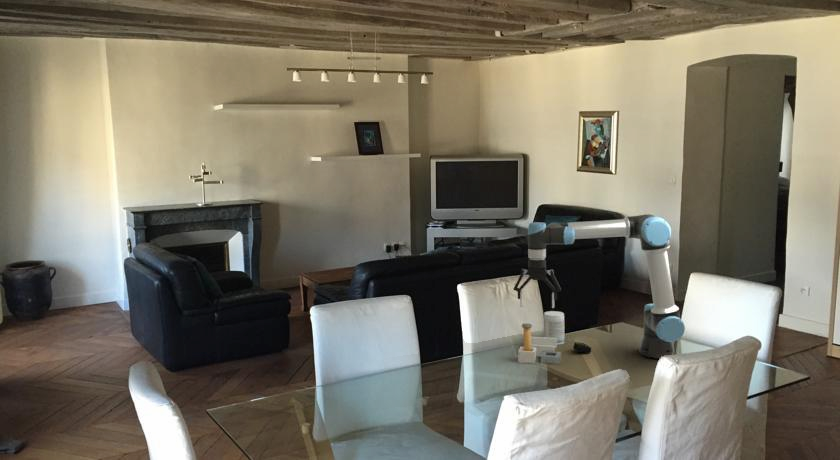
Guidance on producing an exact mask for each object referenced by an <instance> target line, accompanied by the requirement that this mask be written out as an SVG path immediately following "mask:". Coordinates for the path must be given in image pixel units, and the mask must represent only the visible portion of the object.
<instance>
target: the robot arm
mask: <svg viewBox="0 0 840 460" xmlns="http://www.w3.org/2000/svg"><path fill="white" fill-rule="evenodd" d="M527 231H528V232H527V243H528V245H527V247H528V249H527V255H528V256H527V257H528V263H527V266H528V267H527V268H528V269H525V268H522V269H521V270H520V275H519V277H518V279H517V281H516V283H515V285H514V287H513V291H516V293H517V300H519V303H520V306H519V307H520V308H523V305H524V298H523V297H524V295H523V294H524V291H523V289H524V288H525V287H526V285H528V283H529V282H530V281H531V280H533V281H541V280H542V281H543V282H544V283H545V284H546V285H547V287H549V288H550V290H551V291H552V293H551V308H552V309H555V301H557V299H558V293H560V292H561V291H562V287H561V286H560V284H559V282H558V280H557V278H556V276H555V272H554V269H549V270H547V259H546V258H547V245H548V246H549V245H566V246H567V245H573V244H574V243H575V240H581V239H582V240H583V239H601V238H617V237H625V238H626V239H637V240H640V246H641V251H642V252H644V253H645V257H646V261H647V268H648V276H649V277H648V278H649V282H650V288H651V289H650V290H651V296H652V302H653V303H647V304H645V305H644V308H643V309H644V310H643V337H642V340H641V342H640V345H639V347H638V348H639V349H638V353H639V354H640V355H641V354H642V355H641V356H643V355H644V356H643V357H646V356H647V358H650V357H653V359H661V358H660V357H661V356H664V355H672V354H674V355H675V348H674V344H673V342H676V341H678V340H680V339H681V338H682V336H684V333H685V329H686V327H685V326H686V325H685V323H684V321H683V320H682V319H681V313H680V308H679V306H677V305H676V303H675V299H674V291H673V283H672V277H671V269H670V262H669V255H668V250H669V248H670V247H671V244H670V239H671V236H672V229H671V226H670V225H669V222H668V221H666V219H664V218H662V217H660V216H655V215H653V214H639V215H632V216H625V217H624V218H620V219H609V220H606V219H605V220H591V221H574V222H551V223H549V224H548V225H547V223H546V222H540V221H539V222H537V221H536V222H530V223H528V229H527ZM526 274H527V275H528V278H527V279H526V280H525V281H523V283H522V284H521V285H520V283H521V281H522V280H523V277H524V275H526ZM547 274H548V275H549V276H550V278H551V279H552V280H551V281H552V282H553V283H554V285H555V286H554V285H553V284H552V282H551V281H550V280H549V279H548V277H547V276H546V275H547Z"/></svg>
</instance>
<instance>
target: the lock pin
mask: <svg viewBox="0 0 840 460" xmlns="http://www.w3.org/2000/svg"><path fill="white" fill-rule="evenodd" d="M532 327H533V325H532V324H531V323H522V324H521V328H523V347H524V351H531V336H532V335H531V333H532V332H531V328H532Z"/></svg>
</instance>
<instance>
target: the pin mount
mask: <svg viewBox="0 0 840 460" xmlns="http://www.w3.org/2000/svg"><path fill="white" fill-rule="evenodd" d="M561 360H562V352H561V351H555V352H553V351H542V354H541V356H540V363H541V364H550V365H551V364H552V365H553V364H554V365H560V364H561Z"/></svg>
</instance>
